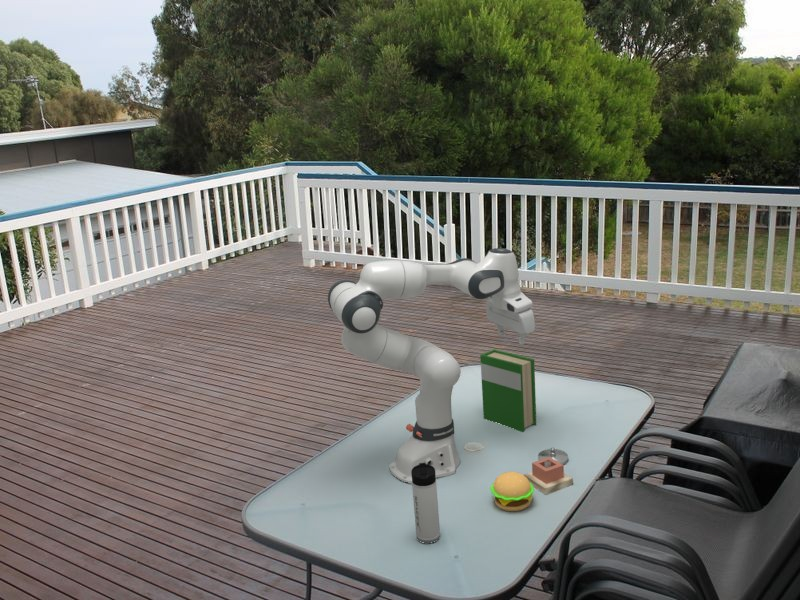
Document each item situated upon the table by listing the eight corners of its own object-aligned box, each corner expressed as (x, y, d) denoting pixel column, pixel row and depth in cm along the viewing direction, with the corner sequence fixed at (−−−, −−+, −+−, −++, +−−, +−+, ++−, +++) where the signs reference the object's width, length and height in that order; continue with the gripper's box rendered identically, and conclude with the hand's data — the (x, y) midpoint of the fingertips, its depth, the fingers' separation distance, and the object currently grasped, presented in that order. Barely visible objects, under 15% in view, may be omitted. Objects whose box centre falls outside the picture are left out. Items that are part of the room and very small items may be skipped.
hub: (551, 469, 224) (550, 458, 223) (532, 458, 232) (532, 447, 231) (574, 461, 228) (573, 449, 227) (555, 450, 236) (554, 439, 235)
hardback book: (536, 424, 255) (534, 359, 249) (522, 432, 250) (520, 365, 244) (497, 411, 268) (494, 349, 262) (483, 418, 263) (480, 355, 257)
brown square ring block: (546, 484, 212) (545, 471, 211) (532, 475, 218) (532, 462, 217) (563, 477, 215) (563, 465, 214) (549, 469, 221) (549, 456, 220)
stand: (545, 494, 210) (544, 474, 209) (524, 480, 219) (523, 460, 217) (572, 484, 215) (572, 464, 213) (550, 470, 223) (550, 451, 222)
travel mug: (439, 529, 198) (434, 461, 193) (441, 543, 192) (436, 473, 186) (415, 531, 198) (410, 463, 193) (417, 545, 192) (411, 475, 186)
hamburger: (540, 510, 203) (540, 481, 201) (499, 517, 201) (497, 489, 199) (525, 489, 215) (524, 462, 212) (485, 496, 213) (484, 469, 210)
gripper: (478, 295, 234) (484, 334, 239) (519, 309, 217) (524, 352, 222) (494, 289, 237) (499, 328, 242) (536, 303, 220) (540, 345, 224)
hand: (512, 340), depth 232 cm, fingers open, 8 cm apart
